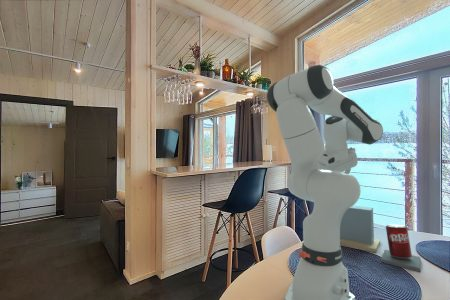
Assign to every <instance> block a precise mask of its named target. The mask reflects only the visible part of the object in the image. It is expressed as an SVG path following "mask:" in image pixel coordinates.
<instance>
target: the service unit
mask: <svg viewBox="0 0 450 300" xmlns="http://www.w3.org/2000/svg"><path fill="white" fill-rule="evenodd" d="M374 224H375V223H374V207H369V206H368V207H367V206H360V205H359V206H358V205H353V206H351V207H350V208H348V209H347V210H346V212H345V213H344V215H343V217H342V220H341V224H340V246H344V247H348V248H353V249H358V250H362V251H367V252H371V253H377V252H378V249H379V247H380V244H381V239H378V238H375V232H374V231H375V229H374V226H375V225H374Z"/></svg>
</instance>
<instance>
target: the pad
mask: <svg viewBox="0 0 450 300" xmlns="http://www.w3.org/2000/svg"><path fill="white" fill-rule="evenodd" d="M380 262H381V263H383V262H384V263H383V264H388V265H392V266H395V267H400V268H402V269H403V268H404V269H408V270H413V271H417V272H421V256H418V255H413V254H412V257H411V258H409V259H401V258H396V257H393V256H391V255H390V252H389V249H384V250H383V253H382V255H381V258H380Z"/></svg>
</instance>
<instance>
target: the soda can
mask: <svg viewBox="0 0 450 300" xmlns="http://www.w3.org/2000/svg"><path fill="white" fill-rule="evenodd" d="M385 230H386V231H385V232H386V238H387V244H388V250H389V252H390V255H391V256H393V257H396V258H401V259H409V258H411V257H412V255H413V254H412V248H411V242H410V235H409V232H408V227H407V226H406V225H404V224H387V225H385Z"/></svg>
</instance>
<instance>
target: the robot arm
mask: <svg viewBox="0 0 450 300" xmlns="http://www.w3.org/2000/svg"><path fill="white" fill-rule="evenodd" d="M266 100H267V103H268V105H269V107H270V108H271V109H272V111H274V112H275V113H276V119H277V123H278V127H279V130H280V135H281V137H282V140H283V143H284V145H285V148H286V151H287V153H288V154H287V155H288V157H289V161H290V167H291V168H290V169H291V170H290V173H289V175H288V177H287V180H286V181H287V182H286V183H287V184H286V186H287V189H288V191H289V192H290V194H292V195H294V196H295V197H297V198H299V199H300V200H304V201H309V202H312V203H313V209H312V212H311V213H310V214H308V215H306V217H304V219H303V221H302V237H303V238H302V239H303V241H302V246H301V250H299V251H298V257H299V258H300V259H299V262H298V264H297V266H296V270H295V273H294V275H293V279H292V281H291V284H290V285H289V287H288V289H287V292H286V293H285V296H284V300H356V296H355V295H354V294H353V293H352V292H351V291H350V285H349V284H350V283H349V273H348V269H347V267H346V266H345V265H344V264H343V251H342V246H341V245H340V224H341V220H342V217H343V215H344V213H345V212H346V210H347V209H348V208H350V207H351V206H355V204H356V203H357V202H358V201H359V198H360V197H361V191H362V190H361V185H360V181H358V179H357V178H356V177H355V176H354V175H352V174H350V173H351V170H352V168H355V167H356V166H357V165H358V157H357V156H358V155H357V153H356V148H355V147H353V146H350V147H348V141H351V142H357V143H362V144H366V145H368V146H369V145H373V144H374V143H377V142H378V141H380V139H381V138H382V137H383V134H384V128H383V126H382V125H383V124H382V123H381V122H380V121H379V120H378V119H375V118H373V117H372V116H370V114H368V113H367V112H366V111H365V110H364V109H363V108H362V107H361V106H360V105H359V104H358V103H357V102H356V101H355V100H353V99H351V98H350V97H348V96H347V95H345V94H343V92H341V91H340V90H339V89H337V88H336V86H334V79H333V75H332V73H331V71H330V69H329V68H328V67H327V66H325V65H322V64H316V65H312V66H310V67H308V68H306V69H303V70H300V71H297V72H295V73H292V74H290V75H288V76H285V77H284V78H282V79H281V80H278V81H276V82H274V83H273V84H271V85H270V86H269V87H268V88H267V93H266ZM312 110H313V111H314V112H316V113H318V114H320V115H325V116H329V117H326V118H325V120H324V121H323V122H324V123H323V138H322V135H321V132H320V129H319V127H318V125H317V122H316V119H315V116H314V115H313V113H312ZM323 139H324V140H323Z"/></svg>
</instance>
